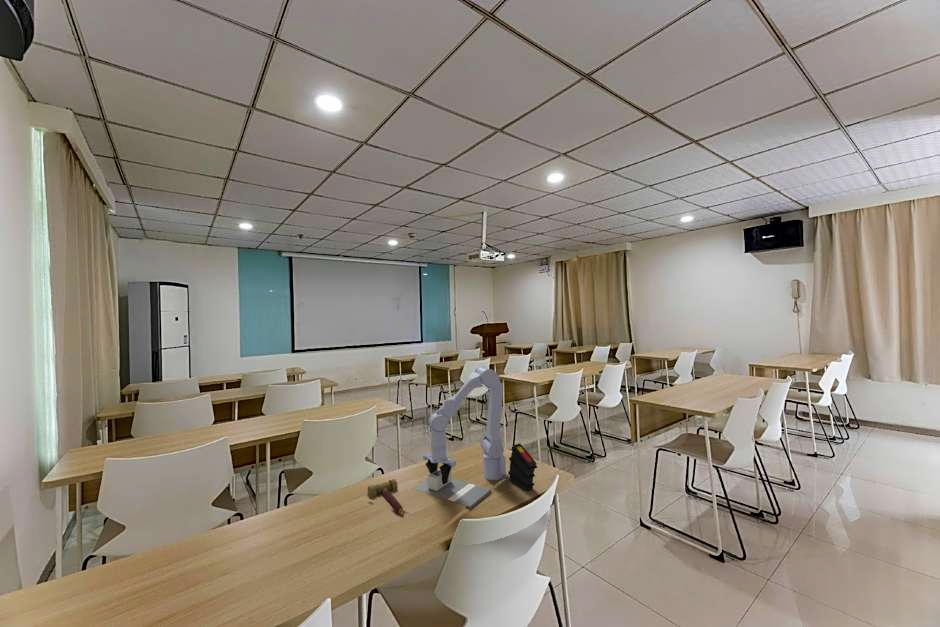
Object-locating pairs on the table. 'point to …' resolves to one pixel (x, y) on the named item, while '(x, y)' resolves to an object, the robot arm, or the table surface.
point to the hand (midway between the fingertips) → (439, 481)
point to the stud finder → (437, 480)
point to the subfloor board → (457, 492)
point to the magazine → (522, 468)
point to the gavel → (387, 493)
